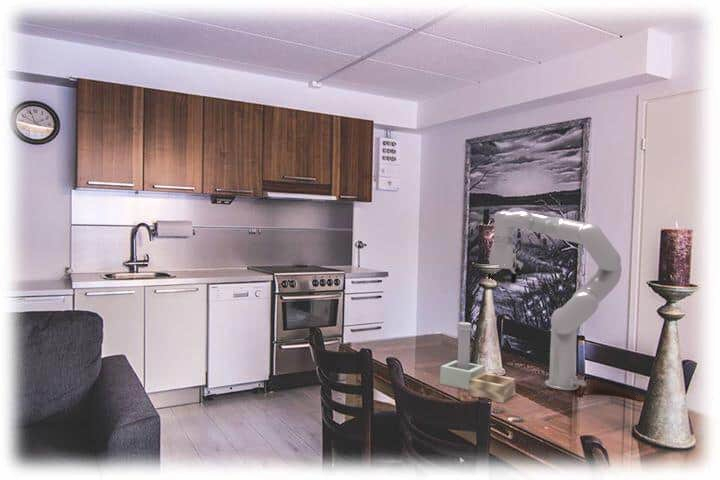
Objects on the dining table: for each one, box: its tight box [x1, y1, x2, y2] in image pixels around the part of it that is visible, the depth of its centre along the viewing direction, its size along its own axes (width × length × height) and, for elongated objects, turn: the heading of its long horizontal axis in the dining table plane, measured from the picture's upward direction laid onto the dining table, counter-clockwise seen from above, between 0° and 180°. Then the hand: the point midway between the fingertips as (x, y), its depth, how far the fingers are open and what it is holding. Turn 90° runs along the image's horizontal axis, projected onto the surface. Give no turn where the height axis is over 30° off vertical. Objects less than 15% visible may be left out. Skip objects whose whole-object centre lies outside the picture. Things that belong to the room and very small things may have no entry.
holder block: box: [439, 359, 486, 391], centre depth 212 cm, size 13×13×7 cm
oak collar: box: [468, 371, 517, 404], centre depth 199 cm, size 13×13×6 cm
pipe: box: [456, 308, 473, 370], centre depth 212 cm, size 6×6×30 cm
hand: (501, 282), depth 221 cm, fingers open, 9 cm apart
